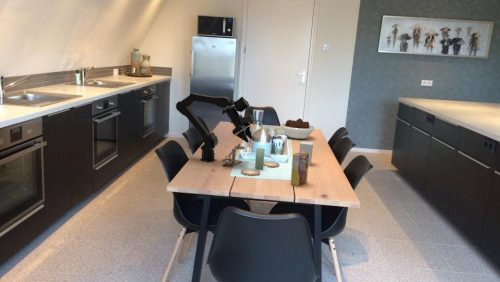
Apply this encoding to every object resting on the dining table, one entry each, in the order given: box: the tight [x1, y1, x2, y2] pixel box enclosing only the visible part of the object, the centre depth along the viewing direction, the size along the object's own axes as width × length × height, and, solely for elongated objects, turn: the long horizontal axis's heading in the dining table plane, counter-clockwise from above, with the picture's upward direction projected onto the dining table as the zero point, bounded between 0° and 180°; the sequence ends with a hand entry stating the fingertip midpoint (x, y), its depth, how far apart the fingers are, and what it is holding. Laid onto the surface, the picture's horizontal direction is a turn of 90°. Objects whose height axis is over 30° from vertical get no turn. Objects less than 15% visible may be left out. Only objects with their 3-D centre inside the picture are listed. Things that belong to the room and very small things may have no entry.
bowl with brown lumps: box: [281, 118, 315, 140], centre depth 319 cm, size 25×25×15 cm
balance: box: [221, 143, 246, 167], centre depth 232 cm, size 6×19×10 cm, turn 154°
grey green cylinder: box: [254, 147, 266, 170], centre depth 225 cm, size 4×4×11 cm
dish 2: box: [263, 160, 280, 168], centre depth 235 cm, size 10×10×1 cm
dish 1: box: [240, 168, 261, 177], centre depth 216 cm, size 10×10×1 cm
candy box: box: [290, 152, 309, 187], centre depth 203 cm, size 9×4×15 cm, turn 140°
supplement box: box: [298, 140, 314, 167], centre depth 242 cm, size 7×7×13 cm
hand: (250, 140), depth 228 cm, fingers open, 9 cm apart
